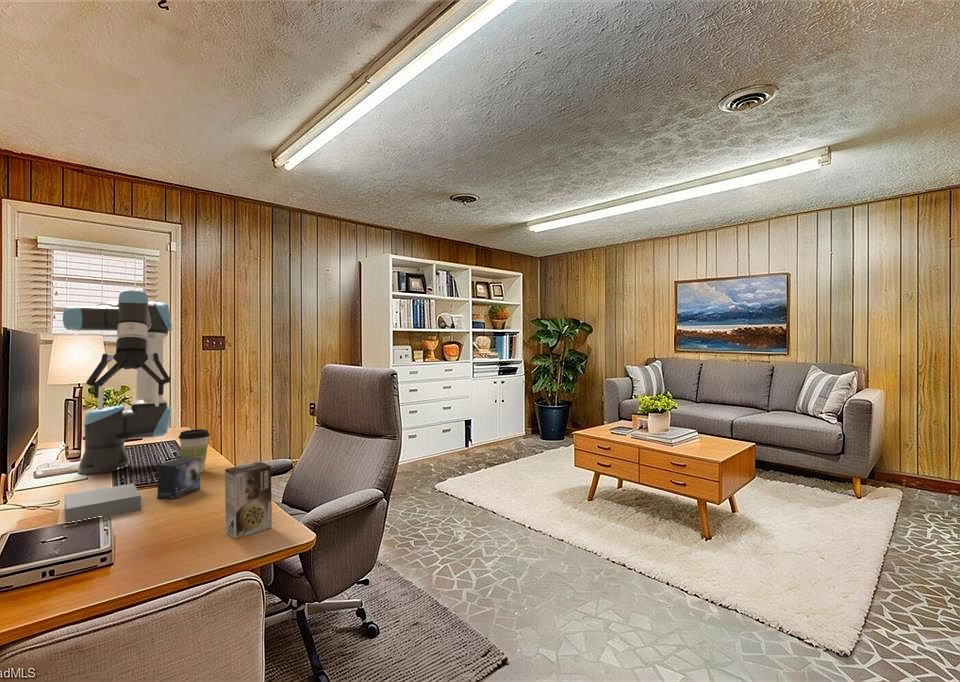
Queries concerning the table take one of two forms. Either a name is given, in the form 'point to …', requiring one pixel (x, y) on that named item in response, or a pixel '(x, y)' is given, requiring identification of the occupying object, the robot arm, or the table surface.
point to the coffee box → (248, 499)
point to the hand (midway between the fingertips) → (129, 407)
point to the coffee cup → (194, 444)
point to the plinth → (102, 502)
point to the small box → (178, 477)
